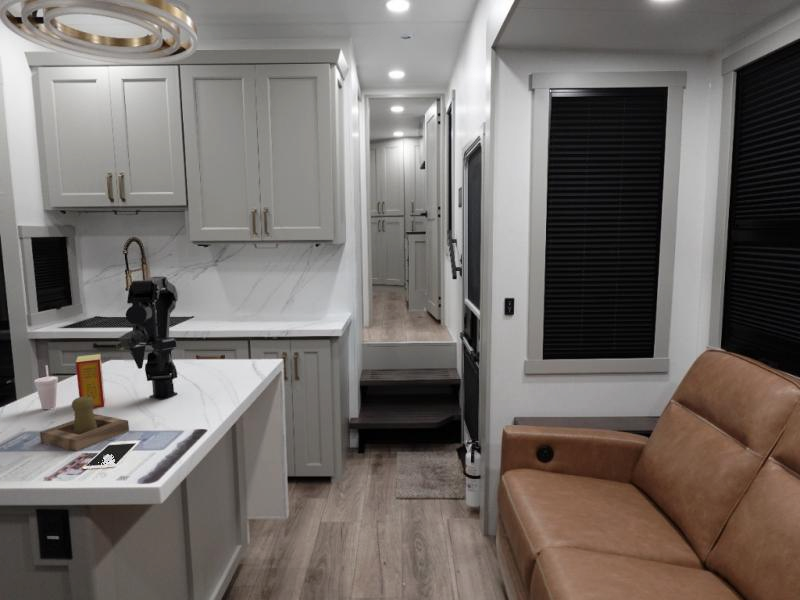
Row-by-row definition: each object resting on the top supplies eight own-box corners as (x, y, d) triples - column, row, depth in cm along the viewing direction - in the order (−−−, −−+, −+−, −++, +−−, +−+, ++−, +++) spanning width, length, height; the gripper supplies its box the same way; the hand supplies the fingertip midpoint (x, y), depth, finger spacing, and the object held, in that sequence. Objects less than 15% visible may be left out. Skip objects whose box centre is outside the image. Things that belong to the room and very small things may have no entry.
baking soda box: (82, 402, 172) (77, 355, 170) (104, 398, 175) (100, 352, 173) (80, 410, 164) (75, 361, 162) (104, 406, 167) (99, 358, 165)
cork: (76, 442, 138) (72, 402, 136) (71, 436, 142) (67, 397, 141) (101, 436, 142) (97, 397, 140) (95, 430, 146) (92, 392, 145)
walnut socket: (40, 442, 138) (39, 431, 138) (94, 423, 152) (93, 413, 151) (76, 451, 132) (75, 440, 132) (129, 430, 145) (128, 420, 145)
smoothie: (65, 406, 168) (61, 364, 166) (45, 412, 162) (40, 369, 160) (53, 403, 171) (48, 362, 169) (32, 409, 165) (27, 367, 163)
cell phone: (141, 442, 138) (141, 439, 138) (115, 469, 122) (115, 466, 122) (110, 444, 137) (110, 442, 137) (80, 471, 121) (80, 469, 121)
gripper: (102, 322, 157) (106, 373, 159) (144, 325, 149) (148, 378, 151) (134, 318, 167) (138, 365, 169) (176, 320, 159) (179, 369, 161)
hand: (150, 369), depth 162 cm, fingers open, 9 cm apart
